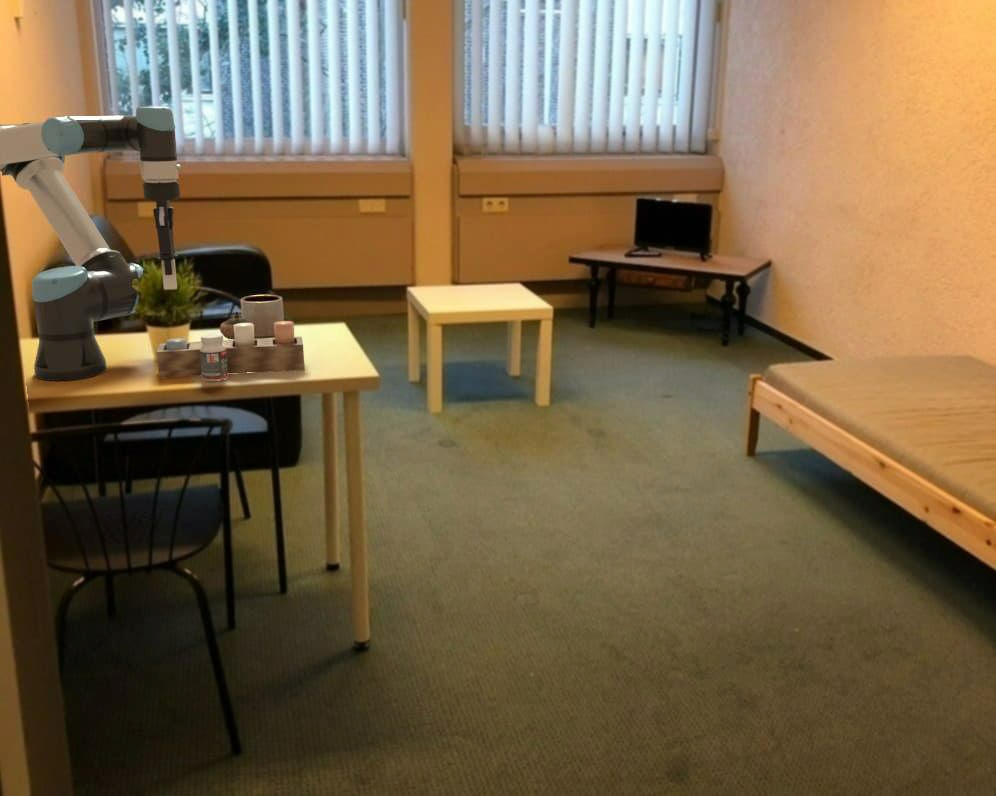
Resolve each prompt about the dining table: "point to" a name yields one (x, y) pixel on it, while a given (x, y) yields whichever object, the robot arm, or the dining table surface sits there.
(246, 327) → the cream block
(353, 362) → the dining table surface
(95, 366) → the robot arm
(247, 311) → the planter
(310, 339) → the dining table surface
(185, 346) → the grey cylinder
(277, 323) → the pink cylinder
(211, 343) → the pill bottle
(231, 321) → the acorn
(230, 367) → the wooden slotted rack
